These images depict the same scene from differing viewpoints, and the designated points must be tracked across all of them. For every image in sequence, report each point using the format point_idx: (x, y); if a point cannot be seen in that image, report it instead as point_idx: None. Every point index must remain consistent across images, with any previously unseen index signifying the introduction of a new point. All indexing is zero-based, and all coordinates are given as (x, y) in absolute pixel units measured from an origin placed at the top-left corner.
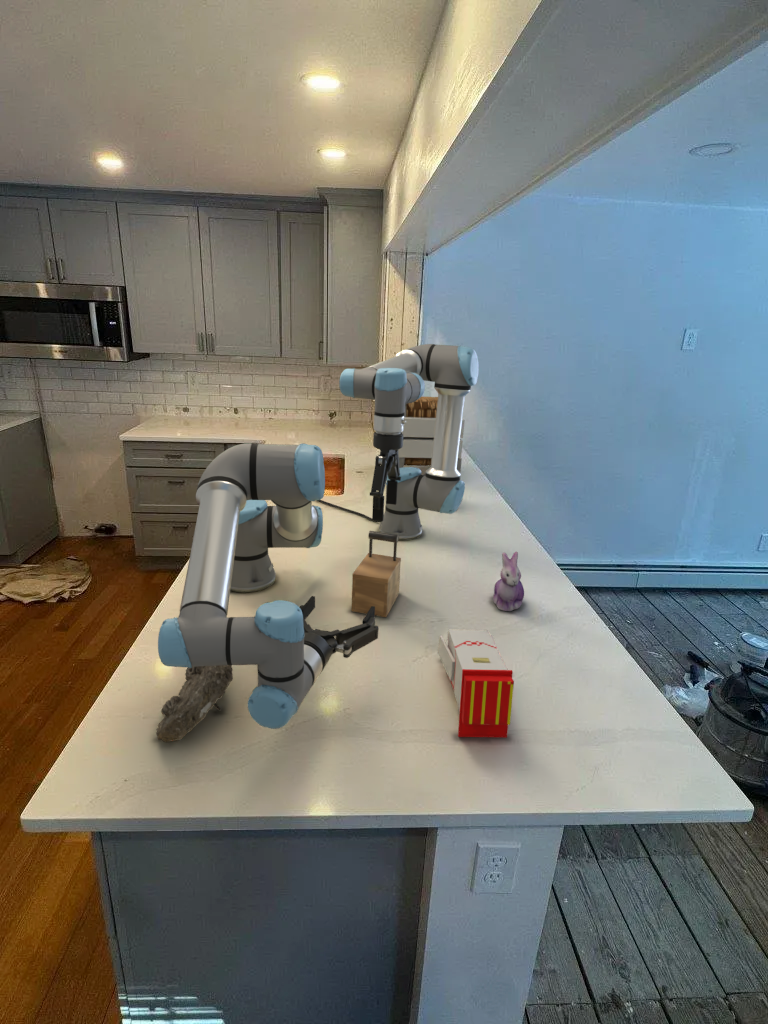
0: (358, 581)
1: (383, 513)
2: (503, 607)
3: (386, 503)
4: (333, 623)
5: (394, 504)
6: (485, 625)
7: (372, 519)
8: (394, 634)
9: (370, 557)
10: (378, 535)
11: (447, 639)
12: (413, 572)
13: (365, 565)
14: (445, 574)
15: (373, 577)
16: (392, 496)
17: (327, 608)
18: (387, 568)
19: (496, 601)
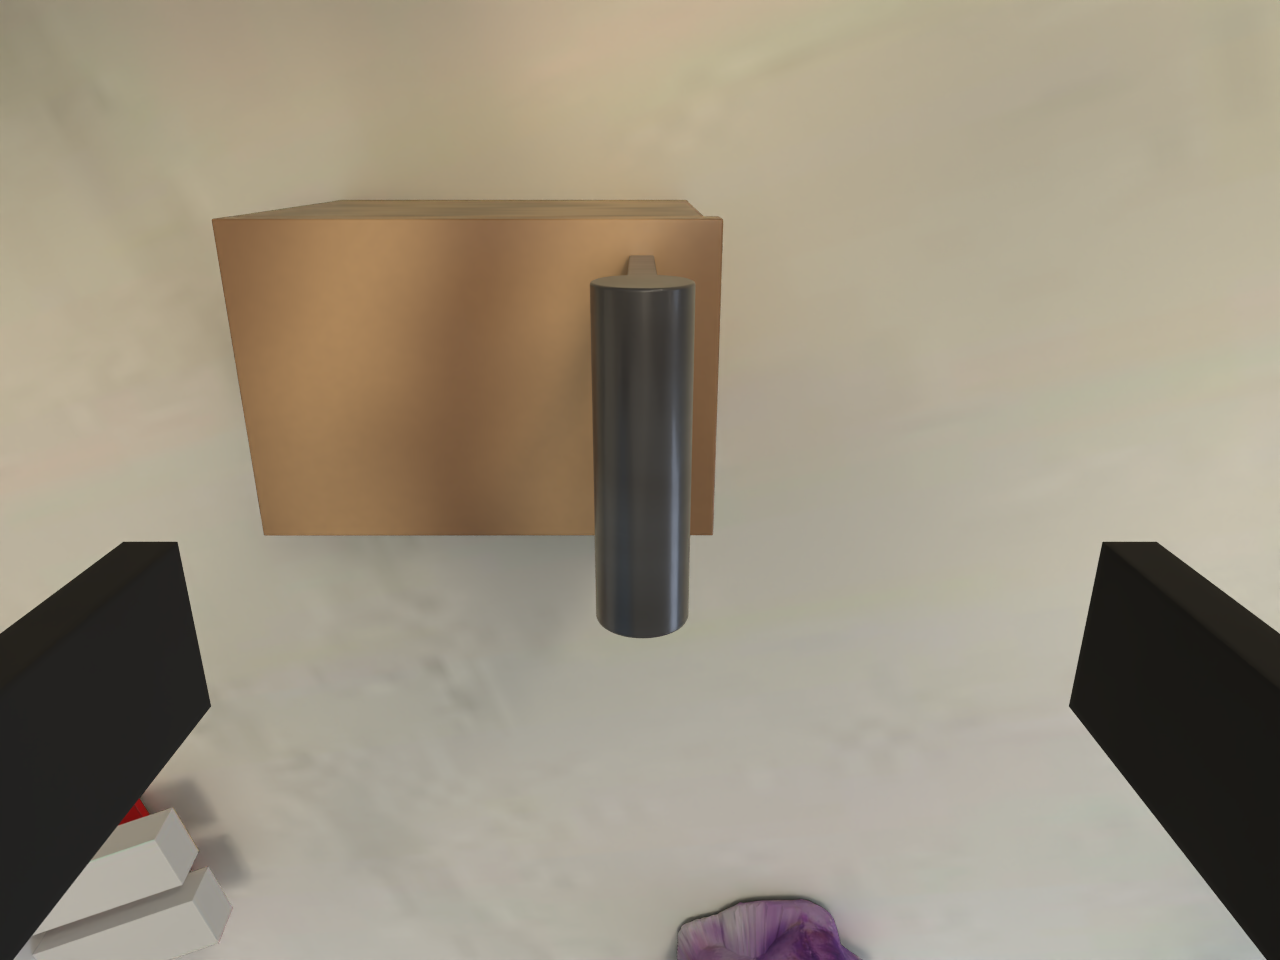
0: None
1: (131, 793)
2: (682, 952)
3: (1103, 547)
4: (144, 134)
5: (1076, 686)
6: (508, 882)
7: (121, 549)
8: (218, 517)
9: (623, 274)
10: (599, 416)
11: (166, 810)
12: (1028, 451)
13: (432, 281)
14: (1040, 642)
15: (246, 415)
16: (1172, 743)
17: (301, 14)
18: (458, 480)
19: (724, 927)
